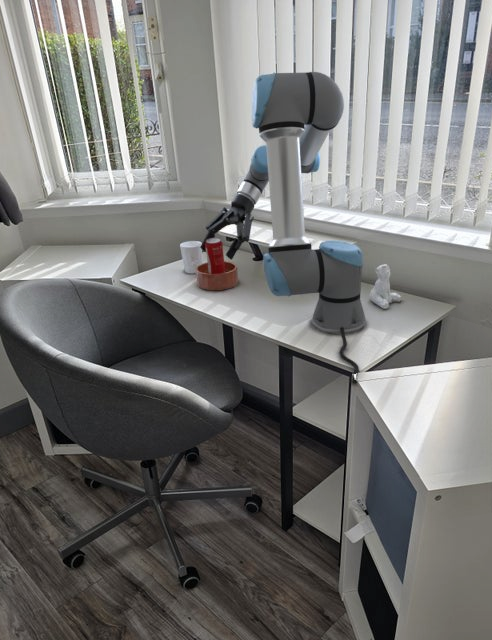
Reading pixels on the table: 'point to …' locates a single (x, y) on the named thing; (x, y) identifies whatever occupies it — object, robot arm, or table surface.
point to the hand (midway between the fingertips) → (215, 253)
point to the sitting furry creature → (383, 288)
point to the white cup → (191, 255)
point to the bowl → (217, 277)
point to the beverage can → (215, 256)
